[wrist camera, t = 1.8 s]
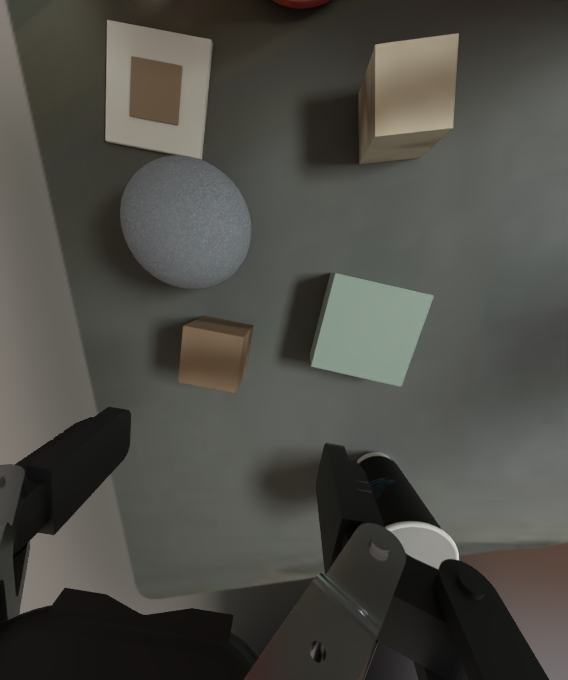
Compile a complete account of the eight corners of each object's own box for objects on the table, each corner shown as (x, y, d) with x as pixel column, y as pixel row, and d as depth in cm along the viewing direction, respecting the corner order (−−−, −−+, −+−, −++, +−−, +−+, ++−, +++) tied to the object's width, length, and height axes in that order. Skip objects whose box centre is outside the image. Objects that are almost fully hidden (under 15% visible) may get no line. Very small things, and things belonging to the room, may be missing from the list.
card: (110, 23, 24) (105, 17, 23) (213, 43, 24) (210, 37, 23) (108, 142, 26) (103, 139, 25) (201, 160, 26) (199, 157, 25)
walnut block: (203, 315, 30) (183, 325, 24) (253, 325, 30) (243, 337, 24) (198, 362, 31) (177, 382, 26) (246, 371, 31) (235, 393, 26)
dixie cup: (358, 431, 32) (388, 511, 21) (419, 454, 32) (479, 544, 22) (330, 482, 34) (345, 579, 23) (388, 504, 34) (429, 609, 24)
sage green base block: (330, 272, 28) (335, 273, 24) (415, 292, 28) (433, 295, 24) (309, 354, 30) (311, 366, 27) (388, 371, 30) (401, 386, 27)
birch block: (358, 94, 24) (375, 44, 19) (422, 86, 24) (458, 33, 18) (358, 164, 25) (375, 136, 20) (420, 158, 25) (452, 127, 20)
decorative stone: (142, 207, 27) (56, 173, 18) (231, 160, 26) (191, 95, 16) (189, 300, 29) (136, 316, 20) (275, 262, 28) (262, 258, 18)
